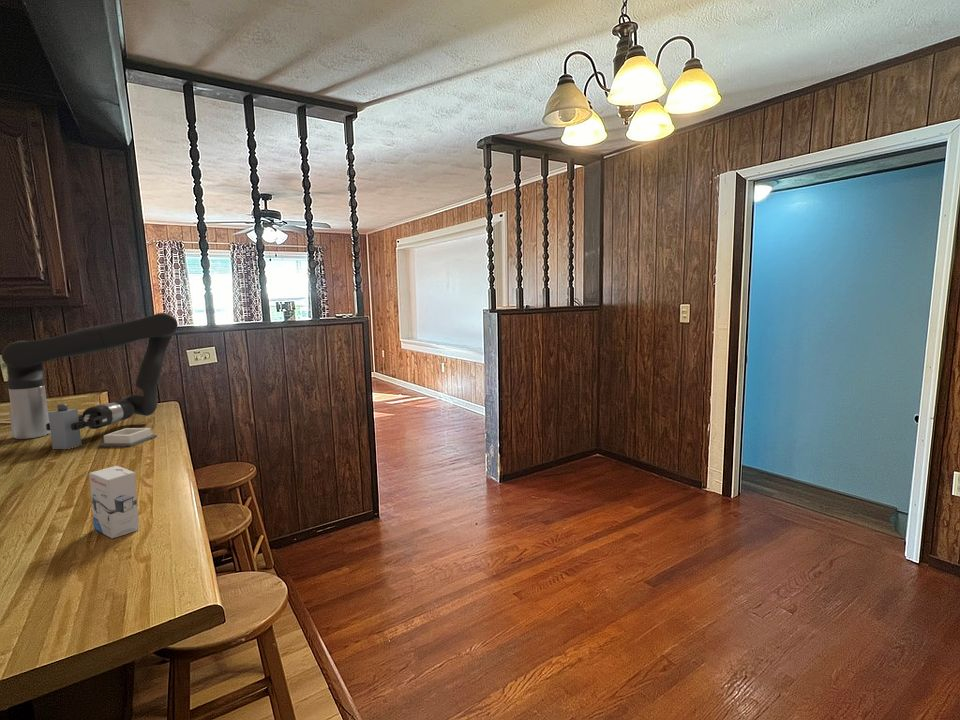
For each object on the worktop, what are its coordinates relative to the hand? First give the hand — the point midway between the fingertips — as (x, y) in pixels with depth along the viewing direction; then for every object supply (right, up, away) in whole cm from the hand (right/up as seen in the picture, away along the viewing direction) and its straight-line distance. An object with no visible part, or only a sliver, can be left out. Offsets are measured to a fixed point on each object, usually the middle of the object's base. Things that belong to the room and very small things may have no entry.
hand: (59, 427), depth 153 cm
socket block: (+16, -6, +8) cm, 19 cm away
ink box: (+59, -13, -56) cm, 82 cm away
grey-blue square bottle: (0, -7, +3) cm, 7 cm away
